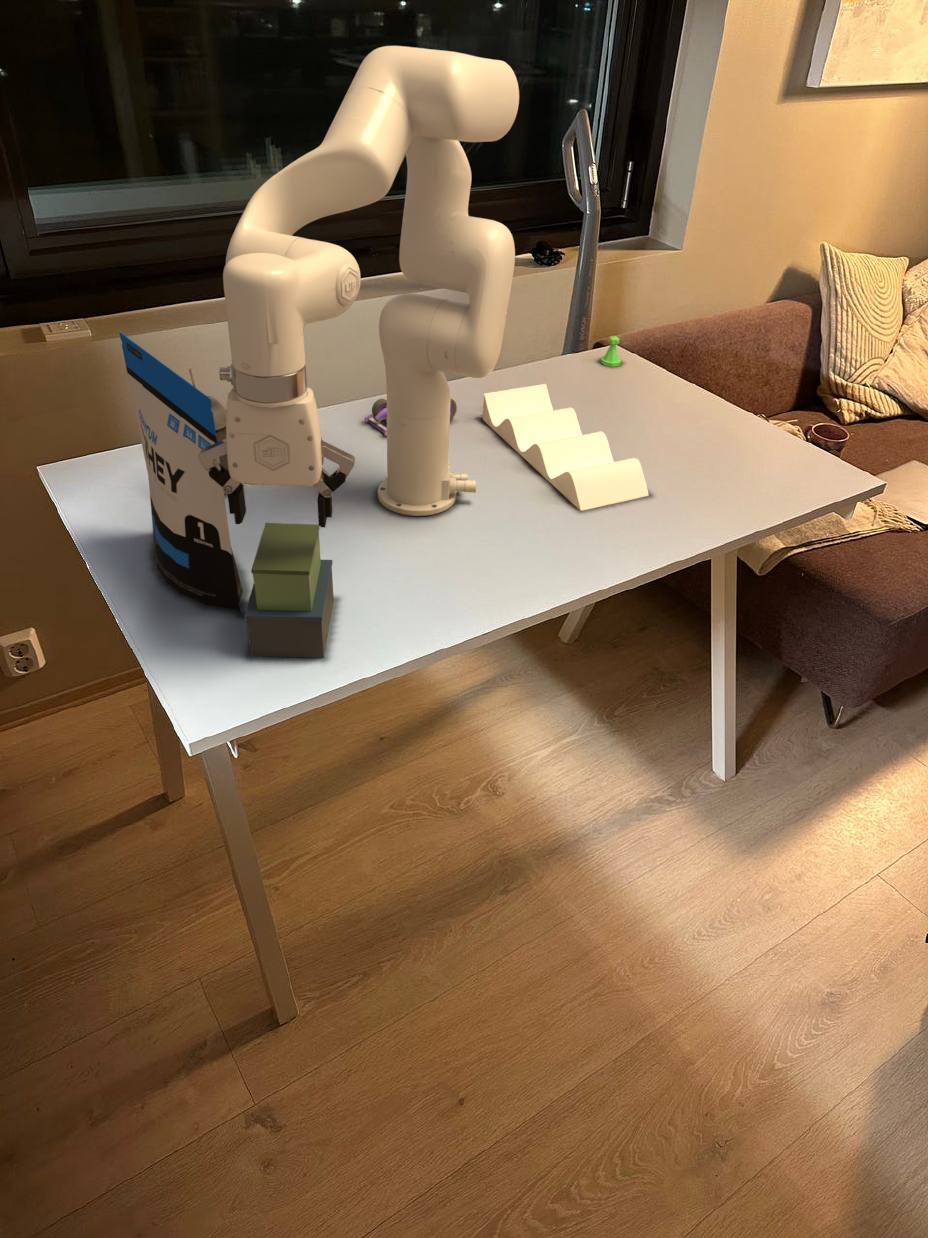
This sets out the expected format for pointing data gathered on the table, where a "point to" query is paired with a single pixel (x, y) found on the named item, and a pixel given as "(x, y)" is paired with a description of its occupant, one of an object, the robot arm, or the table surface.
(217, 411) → the beverage cup
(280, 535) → the olive green rectangular box
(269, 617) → the storage box
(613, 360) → the game piece
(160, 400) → the protein powder
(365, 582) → the table surface
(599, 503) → the cream wavy block
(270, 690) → the table surface
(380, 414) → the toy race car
